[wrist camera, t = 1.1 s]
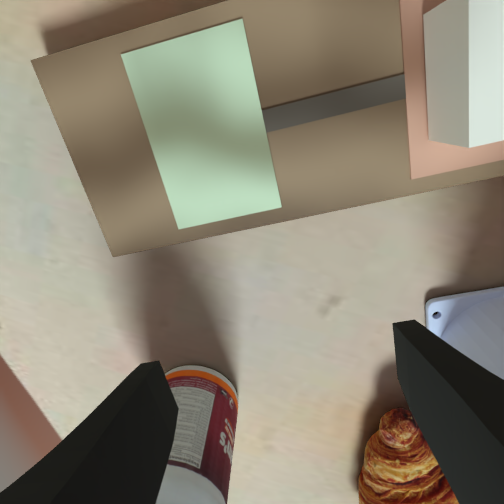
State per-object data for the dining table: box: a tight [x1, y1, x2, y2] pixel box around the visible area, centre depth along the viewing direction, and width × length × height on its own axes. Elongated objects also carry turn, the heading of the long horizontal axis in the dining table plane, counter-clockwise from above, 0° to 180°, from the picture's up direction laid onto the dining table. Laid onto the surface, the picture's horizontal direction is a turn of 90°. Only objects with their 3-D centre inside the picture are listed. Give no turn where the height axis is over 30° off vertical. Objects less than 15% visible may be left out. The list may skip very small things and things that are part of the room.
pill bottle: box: [156, 365, 238, 504], centre depth 20 cm, size 6×6×11 cm
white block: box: [423, 0, 504, 148], centre depth 13 cm, size 5×4×4 cm
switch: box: [31, 0, 504, 257], centre depth 17 cm, size 10×22×2 cm, turn 103°
